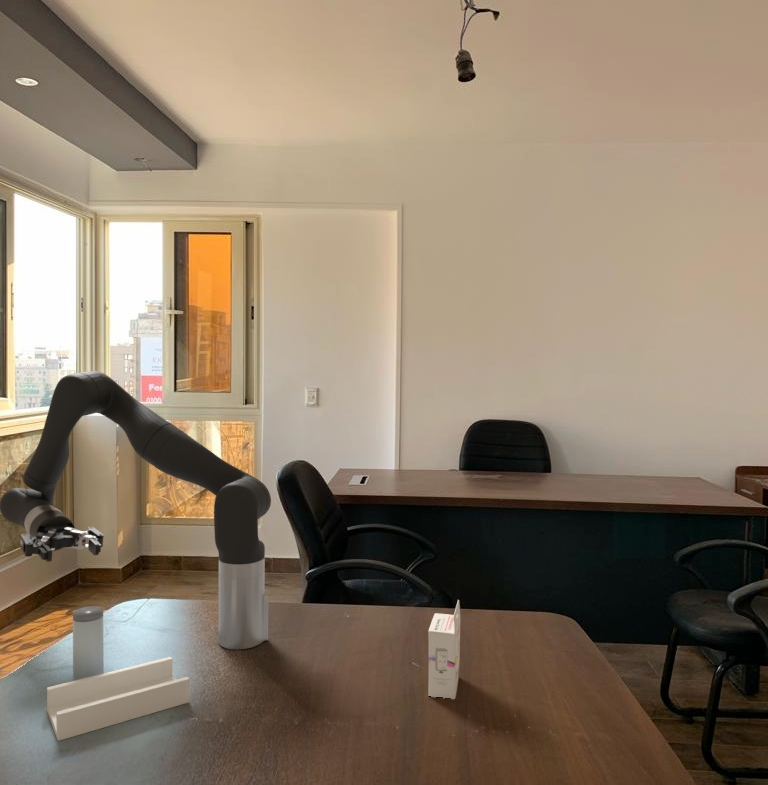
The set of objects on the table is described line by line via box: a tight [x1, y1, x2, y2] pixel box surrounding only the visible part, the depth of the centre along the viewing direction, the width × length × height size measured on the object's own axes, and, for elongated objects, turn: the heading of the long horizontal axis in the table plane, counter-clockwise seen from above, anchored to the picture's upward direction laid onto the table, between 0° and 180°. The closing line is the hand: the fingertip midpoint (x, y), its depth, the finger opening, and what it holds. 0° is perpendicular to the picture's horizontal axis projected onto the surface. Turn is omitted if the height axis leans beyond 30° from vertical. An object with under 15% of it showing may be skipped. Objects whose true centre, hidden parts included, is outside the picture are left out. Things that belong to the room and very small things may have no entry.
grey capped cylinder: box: [72, 605, 105, 681], centre depth 117 cm, size 5×5×12 cm
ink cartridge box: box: [427, 599, 461, 700], centre depth 115 cm, size 9×5×15 cm, turn 168°
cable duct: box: [46, 656, 190, 742], centre depth 107 cm, size 20×10×4 cm, turn 126°
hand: (74, 553), depth 123 cm, fingers open, 8 cm apart
